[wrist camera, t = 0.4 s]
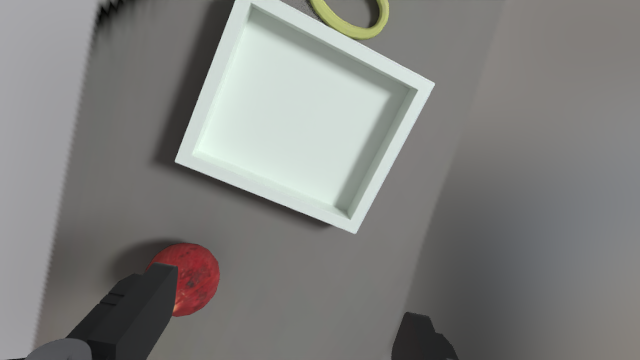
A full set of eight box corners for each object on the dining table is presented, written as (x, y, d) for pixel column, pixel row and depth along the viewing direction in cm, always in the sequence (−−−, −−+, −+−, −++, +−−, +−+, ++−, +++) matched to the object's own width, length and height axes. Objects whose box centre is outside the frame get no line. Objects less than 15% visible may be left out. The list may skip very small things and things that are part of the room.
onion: (200, 216, 32) (175, 261, 24) (237, 263, 34) (224, 318, 26) (147, 248, 32) (107, 302, 25) (187, 293, 34) (159, 356, 26)
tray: (246, -10, 27) (242, -19, 24) (420, 82, 31) (435, 83, 28) (184, 153, 30) (174, 161, 27) (349, 220, 34) (355, 233, 31)
